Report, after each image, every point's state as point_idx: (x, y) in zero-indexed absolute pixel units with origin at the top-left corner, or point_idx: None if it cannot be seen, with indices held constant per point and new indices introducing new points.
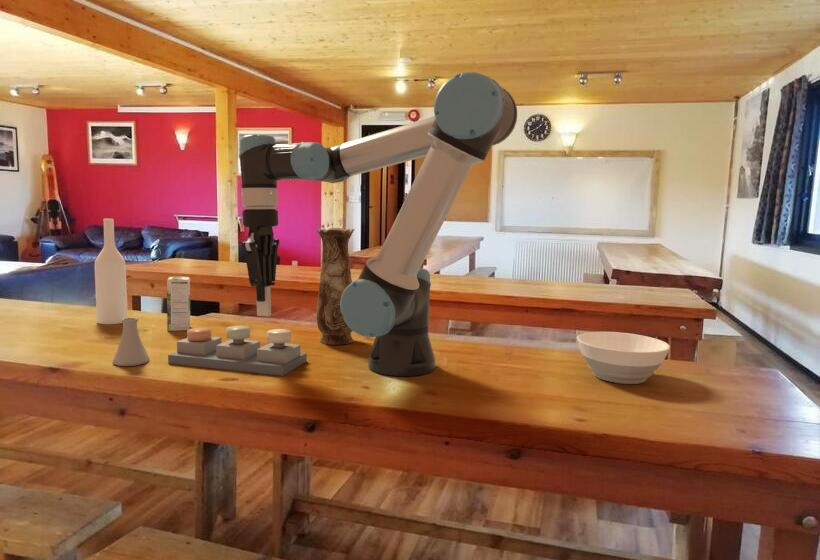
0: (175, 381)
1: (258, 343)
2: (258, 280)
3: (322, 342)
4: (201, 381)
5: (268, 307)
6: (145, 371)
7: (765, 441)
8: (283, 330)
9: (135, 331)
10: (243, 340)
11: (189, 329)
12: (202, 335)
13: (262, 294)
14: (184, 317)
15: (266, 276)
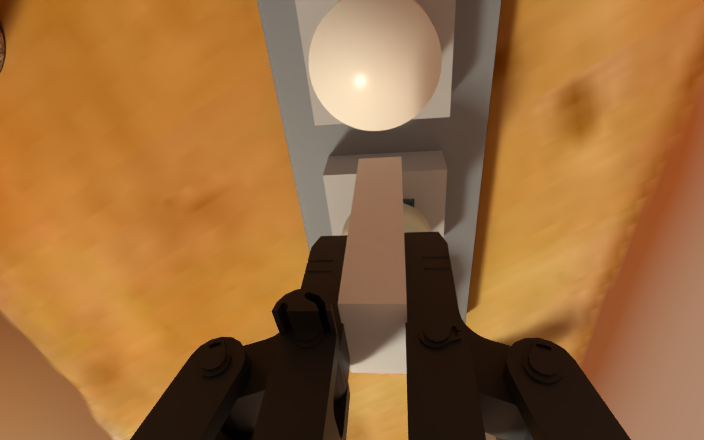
0: (616, 231)
1: (337, 171)
2: (589, 399)
3: (1, 55)
4: (611, 174)
5: (391, 186)
6: (536, 322)
7: None
8: (337, 60)
9: (493, 437)
10: None
11: (396, 373)
12: None
13: (446, 271)
14: None
15: (330, 422)
